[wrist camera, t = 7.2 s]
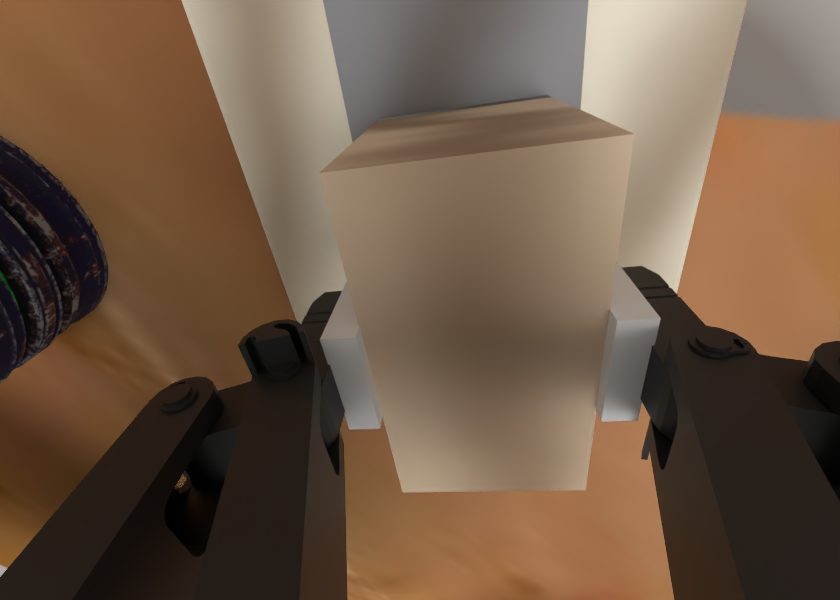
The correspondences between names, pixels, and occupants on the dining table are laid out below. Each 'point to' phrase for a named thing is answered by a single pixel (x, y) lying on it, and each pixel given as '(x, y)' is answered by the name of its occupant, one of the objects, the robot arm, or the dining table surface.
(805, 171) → the dining table surface
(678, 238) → the board
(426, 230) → the block
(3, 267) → the storage jar
